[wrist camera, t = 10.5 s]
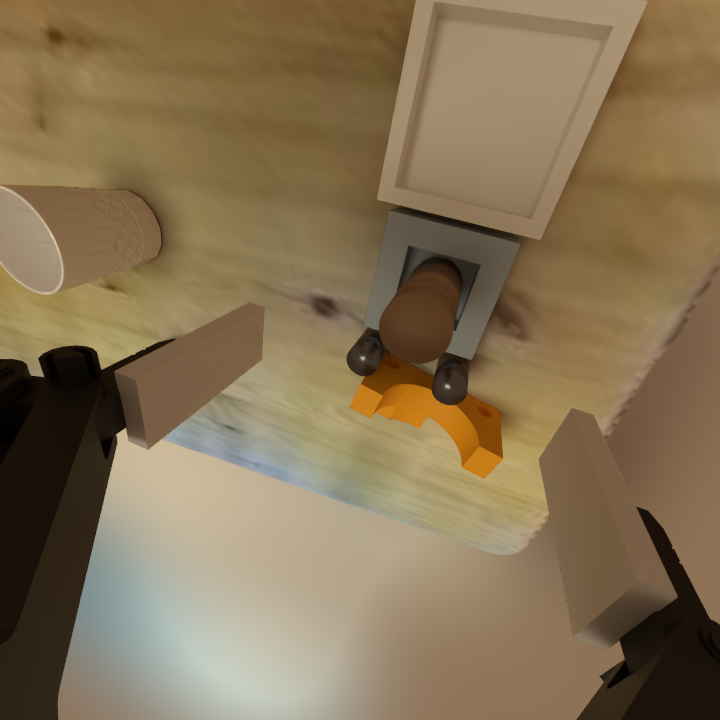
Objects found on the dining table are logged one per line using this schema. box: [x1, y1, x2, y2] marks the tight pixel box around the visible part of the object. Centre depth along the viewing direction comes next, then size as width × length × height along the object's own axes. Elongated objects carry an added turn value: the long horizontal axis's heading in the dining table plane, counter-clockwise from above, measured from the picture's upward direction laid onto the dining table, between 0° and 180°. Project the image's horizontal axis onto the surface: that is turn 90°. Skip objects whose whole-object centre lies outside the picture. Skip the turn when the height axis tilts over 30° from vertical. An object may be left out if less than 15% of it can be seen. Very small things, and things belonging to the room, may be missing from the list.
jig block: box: [364, 208, 521, 360], centre depth 26 cm, size 9×9×2 cm
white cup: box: [0, 185, 162, 295], centre depth 30 cm, size 8×8×10 cm
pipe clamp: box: [350, 352, 503, 479], centre depth 30 cm, size 12×4×6 cm, turn 68°
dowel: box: [379, 257, 463, 364], centre depth 23 cm, size 4×4×10 cm
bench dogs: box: [347, 327, 469, 405], centre depth 28 cm, size 3×10×5 cm, turn 79°
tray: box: [377, 0, 648, 240], centre depth 21 cm, size 11×11×3 cm
